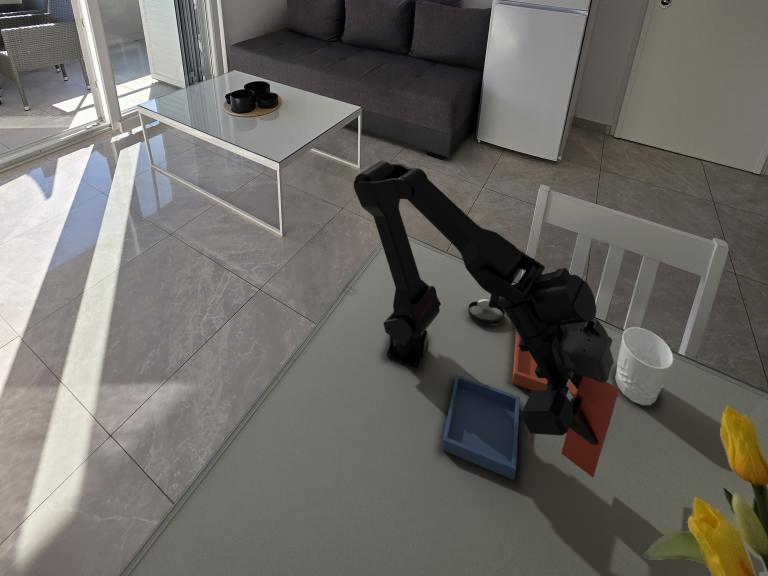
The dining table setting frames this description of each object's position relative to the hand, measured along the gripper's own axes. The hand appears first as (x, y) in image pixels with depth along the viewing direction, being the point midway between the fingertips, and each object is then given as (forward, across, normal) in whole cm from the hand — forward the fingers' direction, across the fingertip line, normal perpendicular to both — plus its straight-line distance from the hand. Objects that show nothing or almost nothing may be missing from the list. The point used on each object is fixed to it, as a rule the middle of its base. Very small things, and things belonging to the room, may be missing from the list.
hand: (599, 429), depth 61 cm
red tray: (+1, +16, +16) cm, 23 cm away
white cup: (+11, +22, +7) cm, 25 cm away
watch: (-8, +17, +27) cm, 33 cm away
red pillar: (+4, 0, +6) cm, 7 cm away
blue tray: (-2, -3, +20) cm, 20 cm away
